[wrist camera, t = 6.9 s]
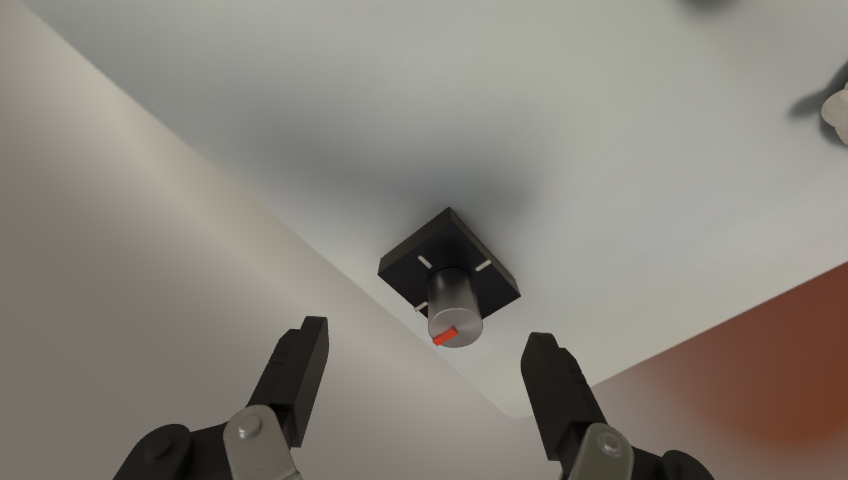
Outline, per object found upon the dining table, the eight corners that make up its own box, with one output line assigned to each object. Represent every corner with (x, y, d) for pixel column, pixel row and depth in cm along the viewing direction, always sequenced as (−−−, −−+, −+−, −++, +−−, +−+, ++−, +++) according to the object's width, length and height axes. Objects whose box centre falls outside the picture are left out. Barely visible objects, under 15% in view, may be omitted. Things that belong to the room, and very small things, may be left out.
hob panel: (379, 259, 30) (375, 276, 28) (449, 205, 27) (452, 219, 25) (447, 320, 34) (449, 340, 32) (515, 278, 31) (522, 297, 29)
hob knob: (455, 259, 27) (462, 302, 22) (483, 288, 29) (494, 334, 24) (418, 283, 28) (417, 329, 24) (446, 310, 30) (450, 358, 25)
